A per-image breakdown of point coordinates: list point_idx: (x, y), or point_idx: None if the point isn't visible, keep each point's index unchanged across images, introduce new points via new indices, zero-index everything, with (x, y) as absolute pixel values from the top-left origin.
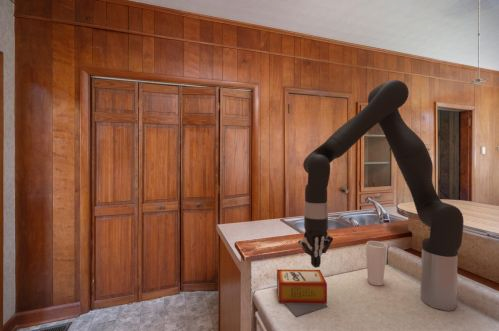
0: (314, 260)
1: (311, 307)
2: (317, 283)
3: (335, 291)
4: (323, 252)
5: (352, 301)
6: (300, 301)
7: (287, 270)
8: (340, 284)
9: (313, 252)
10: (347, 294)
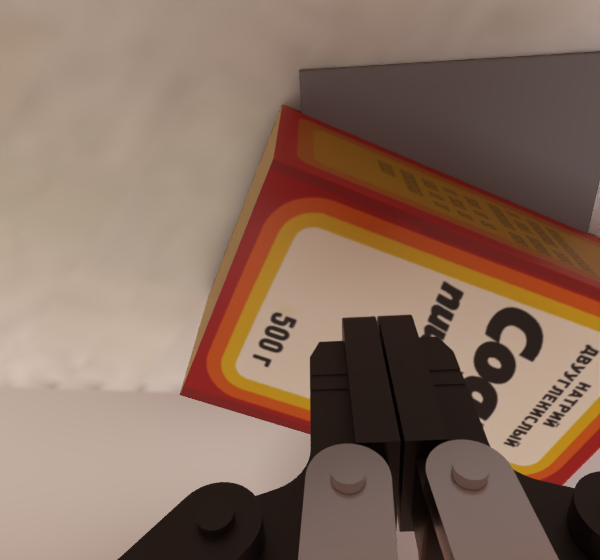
0: (456, 402)
1: (438, 102)
2: (369, 201)
3: (111, 220)
4: (254, 505)
5: (43, 53)
6: (478, 191)
7: None
8: (21, 280)
9: (539, 553)
10: (33, 152)
